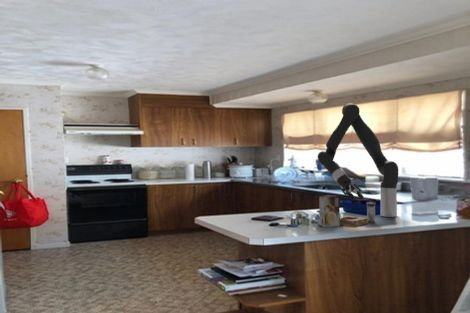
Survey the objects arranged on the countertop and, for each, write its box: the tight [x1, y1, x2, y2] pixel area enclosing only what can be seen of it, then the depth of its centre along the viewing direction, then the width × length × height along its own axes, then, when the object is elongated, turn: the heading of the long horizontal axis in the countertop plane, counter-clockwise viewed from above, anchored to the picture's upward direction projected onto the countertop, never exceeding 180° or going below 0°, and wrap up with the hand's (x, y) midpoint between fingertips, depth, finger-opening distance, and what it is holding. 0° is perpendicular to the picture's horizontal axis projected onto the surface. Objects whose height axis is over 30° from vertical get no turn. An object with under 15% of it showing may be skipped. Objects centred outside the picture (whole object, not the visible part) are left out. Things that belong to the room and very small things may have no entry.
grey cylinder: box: [365, 202, 377, 224], centre depth 255 cm, size 5×5×11 cm
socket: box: [340, 215, 369, 228], centre depth 251 cm, size 14×14×3 cm
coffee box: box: [318, 194, 341, 228], centre depth 245 cm, size 9×6×16 cm
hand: (358, 198), depth 261 cm, fingers open, 8 cm apart
